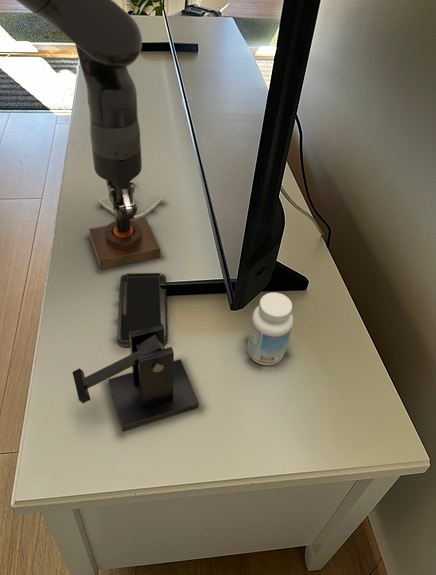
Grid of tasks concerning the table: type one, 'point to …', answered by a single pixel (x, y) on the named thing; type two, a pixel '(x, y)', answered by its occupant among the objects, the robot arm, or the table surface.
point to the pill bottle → (270, 329)
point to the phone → (141, 304)
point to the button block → (124, 245)
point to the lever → (113, 368)
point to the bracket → (151, 384)
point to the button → (123, 233)
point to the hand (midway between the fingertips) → (123, 229)
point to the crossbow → (133, 203)
